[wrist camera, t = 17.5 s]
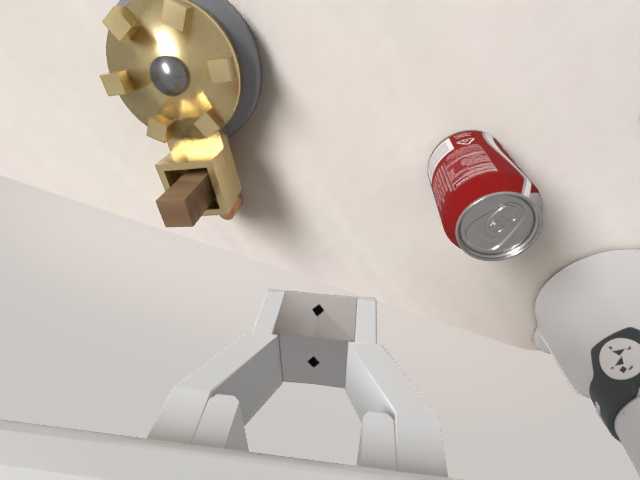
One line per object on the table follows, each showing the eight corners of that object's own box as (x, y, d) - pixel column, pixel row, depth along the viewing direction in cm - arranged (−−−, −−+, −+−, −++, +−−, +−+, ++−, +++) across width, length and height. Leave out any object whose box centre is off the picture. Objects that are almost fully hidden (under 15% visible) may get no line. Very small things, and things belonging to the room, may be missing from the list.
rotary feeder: (270, 190, 37) (258, 212, 33) (169, 197, 38) (147, 218, 35) (223, -17, 27) (199, -19, 24) (94, 5, 29) (53, 7, 25)
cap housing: (317, 59, 31) (312, 64, 29) (239, 208, 41) (230, 222, 38) (140, -59, 28) (117, -64, 26) (99, 132, 38) (80, 142, 35)
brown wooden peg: (222, 188, 35) (193, 226, 30) (199, 189, 36) (165, 227, 30) (216, 165, 34) (184, 200, 28) (192, 166, 34) (155, 201, 29)
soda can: (411, 169, 36) (426, 235, 26) (464, 112, 32) (503, 164, 23) (462, 206, 38) (493, 282, 28) (517, 155, 34) (576, 222, 24)
